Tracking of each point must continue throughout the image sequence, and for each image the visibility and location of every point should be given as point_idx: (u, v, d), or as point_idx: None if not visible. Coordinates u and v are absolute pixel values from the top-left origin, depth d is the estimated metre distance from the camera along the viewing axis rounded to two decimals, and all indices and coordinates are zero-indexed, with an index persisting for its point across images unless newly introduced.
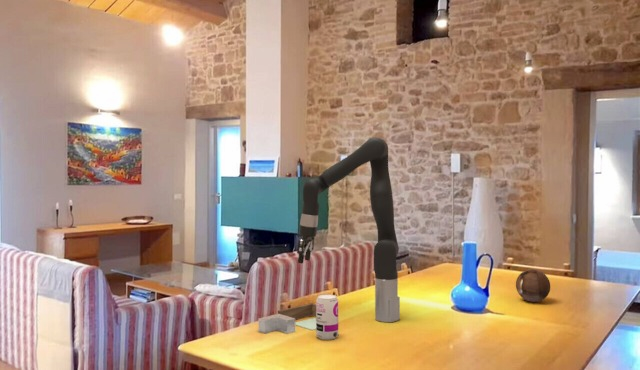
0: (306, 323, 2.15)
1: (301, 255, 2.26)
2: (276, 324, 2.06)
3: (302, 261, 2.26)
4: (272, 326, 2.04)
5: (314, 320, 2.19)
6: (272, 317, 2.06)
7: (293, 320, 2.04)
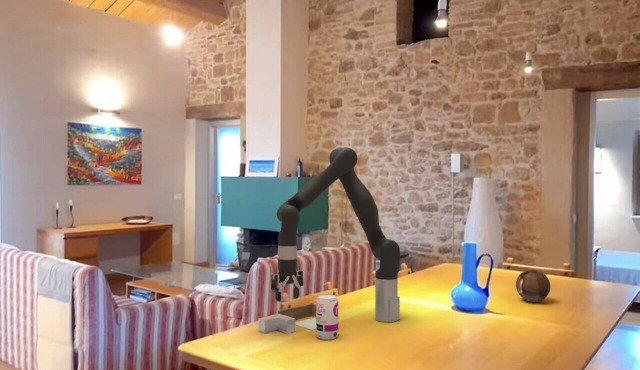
0: (306, 323, 2.15)
1: (277, 292, 2.00)
2: (276, 324, 2.06)
3: (279, 299, 2.00)
4: (272, 326, 2.04)
5: (314, 320, 2.19)
6: (272, 317, 2.06)
7: (293, 320, 2.04)
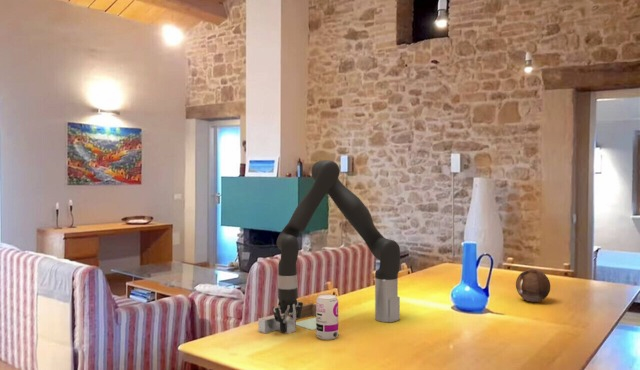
0: (306, 323, 2.15)
1: (281, 323, 2.02)
2: (276, 324, 2.06)
3: (284, 330, 2.02)
4: (272, 326, 2.04)
5: (314, 320, 2.19)
6: (272, 317, 2.06)
7: (293, 320, 2.04)
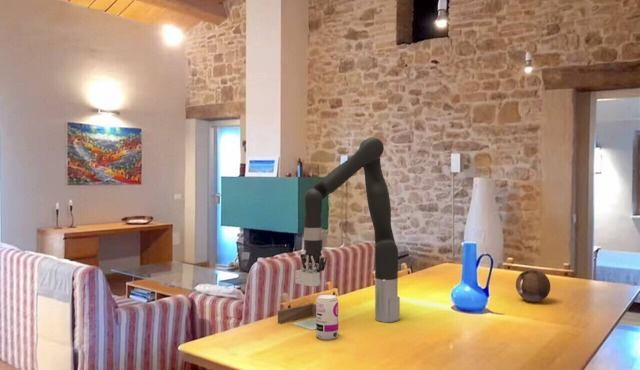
0: (306, 323, 2.15)
1: None
2: None
3: None
4: None
5: (314, 320, 2.19)
6: (309, 271, 2.12)
7: None
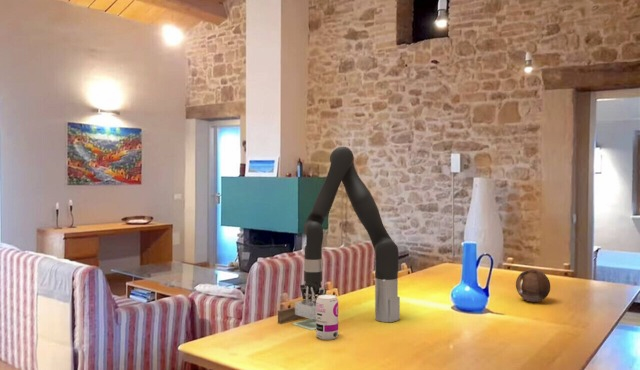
0: (306, 323, 2.15)
1: None
2: None
3: None
4: None
5: (314, 320, 2.19)
6: (308, 303, 2.12)
7: None
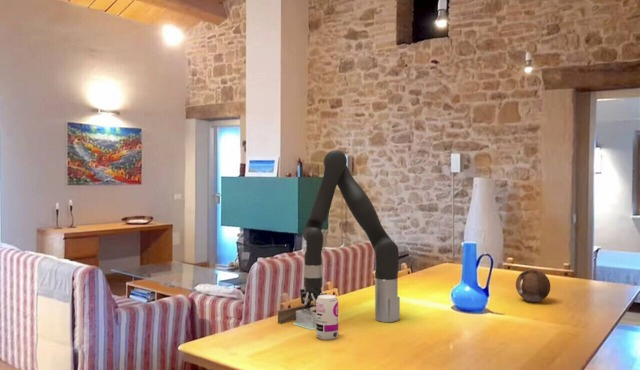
0: None
1: None
2: None
3: None
4: None
5: None
6: (309, 312, 2.12)
7: None
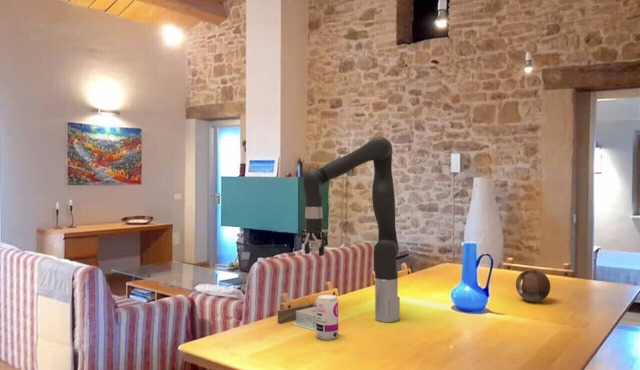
0: None
1: (323, 247, 2.26)
2: None
3: None
4: None
5: None
6: (309, 312, 2.12)
7: None
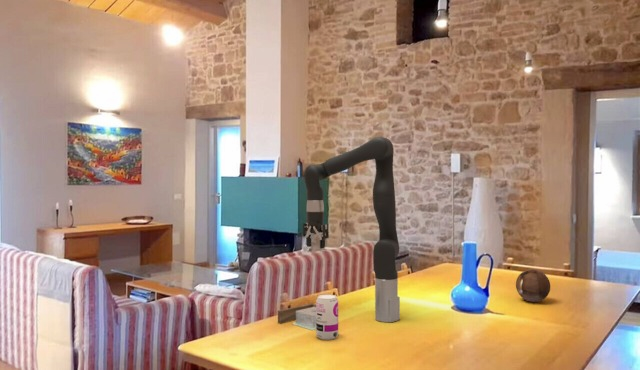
0: None
1: (324, 240, 2.30)
2: None
3: None
4: None
5: None
6: (309, 312, 2.12)
7: None
